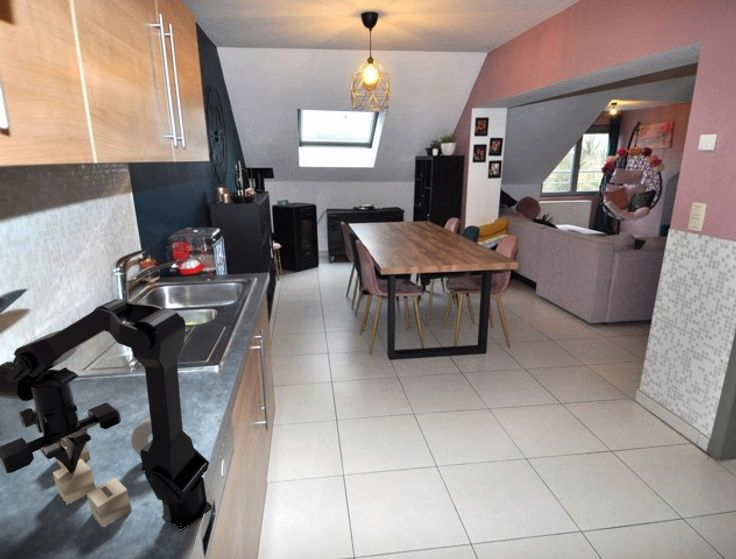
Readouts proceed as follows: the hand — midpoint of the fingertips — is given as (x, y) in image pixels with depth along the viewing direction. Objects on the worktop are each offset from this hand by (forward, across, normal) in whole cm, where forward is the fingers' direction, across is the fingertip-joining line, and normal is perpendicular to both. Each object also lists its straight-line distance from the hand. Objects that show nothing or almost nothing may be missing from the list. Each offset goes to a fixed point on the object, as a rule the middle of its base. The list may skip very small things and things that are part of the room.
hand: (71, 471), depth 84 cm
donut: (+5, -15, +3) cm, 16 cm away
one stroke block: (+5, -2, +11) cm, 12 cm away
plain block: (+5, 0, 0) cm, 5 cm away
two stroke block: (+5, -3, -11) cm, 12 cm away
